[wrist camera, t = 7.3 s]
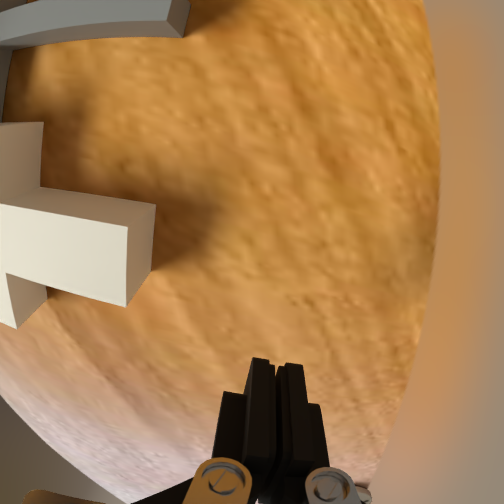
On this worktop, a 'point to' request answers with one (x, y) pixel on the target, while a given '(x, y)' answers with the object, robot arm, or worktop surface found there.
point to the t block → (63, 234)
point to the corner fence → (83, 23)
